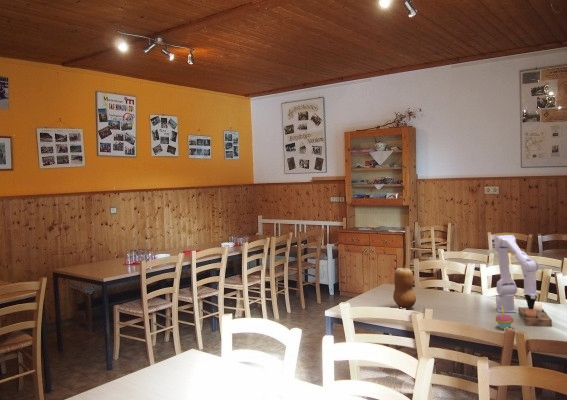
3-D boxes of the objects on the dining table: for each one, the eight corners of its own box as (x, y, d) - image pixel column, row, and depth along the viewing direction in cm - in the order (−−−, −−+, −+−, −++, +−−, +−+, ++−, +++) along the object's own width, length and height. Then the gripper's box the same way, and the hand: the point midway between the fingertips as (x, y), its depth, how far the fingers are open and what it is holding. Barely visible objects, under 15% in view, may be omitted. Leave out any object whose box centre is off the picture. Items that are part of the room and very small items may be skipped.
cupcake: (492, 326, 249) (491, 303, 248) (507, 324, 249) (507, 302, 249) (501, 331, 240) (500, 308, 239) (517, 329, 241) (516, 306, 240)
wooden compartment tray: (526, 325, 246) (526, 319, 246) (518, 313, 267) (518, 307, 267) (551, 326, 243) (551, 319, 242) (542, 313, 264) (541, 307, 263)
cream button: (533, 314, 257) (533, 305, 257) (531, 311, 262) (531, 302, 262) (543, 314, 256) (542, 305, 256) (541, 311, 260) (541, 303, 260)
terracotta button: (527, 319, 249) (526, 310, 249) (525, 316, 254) (524, 307, 253) (537, 319, 248) (536, 310, 247) (535, 317, 252) (534, 307, 252)
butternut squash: (420, 309, 285) (419, 268, 284) (402, 313, 280) (400, 271, 278) (406, 304, 298) (404, 265, 296) (388, 307, 293) (387, 268, 291)
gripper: (541, 286, 242) (542, 312, 242) (535, 280, 256) (536, 305, 256) (526, 286, 244) (527, 312, 244) (521, 280, 258) (521, 304, 258)
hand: (530, 308), depth 250 cm, fingers closed
